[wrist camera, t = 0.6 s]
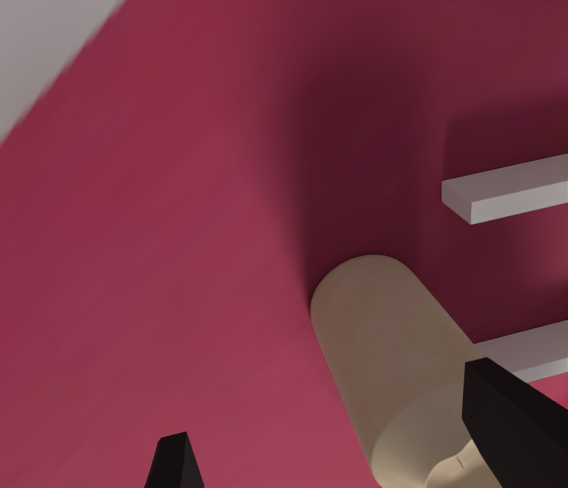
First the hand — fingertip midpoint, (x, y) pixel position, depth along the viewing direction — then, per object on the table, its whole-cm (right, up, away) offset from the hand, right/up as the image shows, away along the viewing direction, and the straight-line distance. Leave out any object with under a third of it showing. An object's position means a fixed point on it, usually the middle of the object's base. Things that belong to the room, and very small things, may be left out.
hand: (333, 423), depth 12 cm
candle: (+3, +2, +12) cm, 12 cm away
